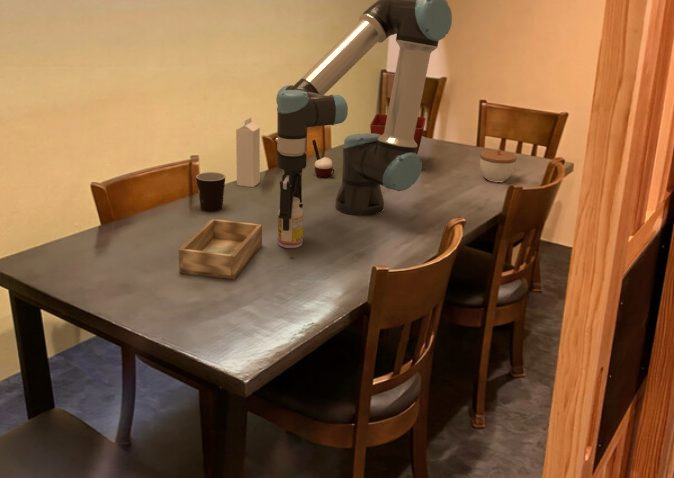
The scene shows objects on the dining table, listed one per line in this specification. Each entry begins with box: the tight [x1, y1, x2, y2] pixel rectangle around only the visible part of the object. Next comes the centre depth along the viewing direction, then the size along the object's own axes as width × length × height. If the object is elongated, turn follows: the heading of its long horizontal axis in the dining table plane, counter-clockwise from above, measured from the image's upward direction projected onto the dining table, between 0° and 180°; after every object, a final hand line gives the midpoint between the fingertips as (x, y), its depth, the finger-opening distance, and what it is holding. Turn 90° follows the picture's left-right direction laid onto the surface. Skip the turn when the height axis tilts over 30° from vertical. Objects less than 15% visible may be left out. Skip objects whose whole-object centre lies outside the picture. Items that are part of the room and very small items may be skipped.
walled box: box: [178, 218, 263, 281], centre depth 177 cm, size 14×22×6 cm, turn 169°
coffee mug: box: [195, 171, 226, 213], centre depth 212 cm, size 12×9×10 cm
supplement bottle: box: [277, 197, 304, 249], centre depth 187 cm, size 7×7×13 cm
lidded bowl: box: [479, 149, 517, 181], centre depth 251 cm, size 13×13×11 cm
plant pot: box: [369, 113, 427, 155], centre depth 262 cm, size 19×19×17 cm
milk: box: [235, 117, 261, 188], centre depth 232 cm, size 6×6×22 cm
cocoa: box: [312, 139, 335, 179], centre depth 246 cm, size 10×6×12 cm, turn 32°
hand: (290, 235), depth 188 cm, fingers open, 7 cm apart
